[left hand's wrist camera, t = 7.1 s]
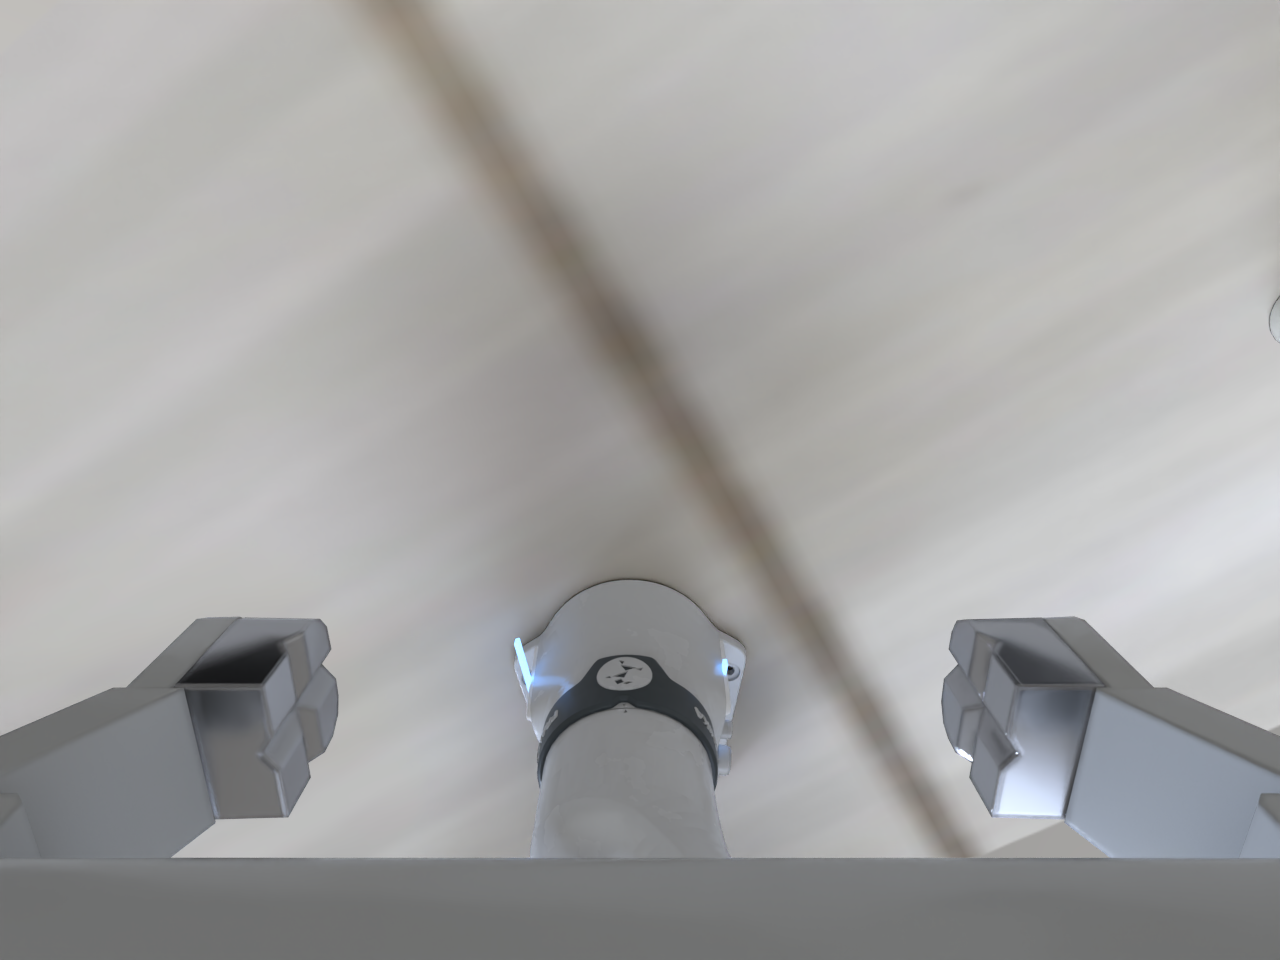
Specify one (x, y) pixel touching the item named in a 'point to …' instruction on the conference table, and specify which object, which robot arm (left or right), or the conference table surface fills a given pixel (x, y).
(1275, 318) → the jar
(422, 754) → the conference table surface
